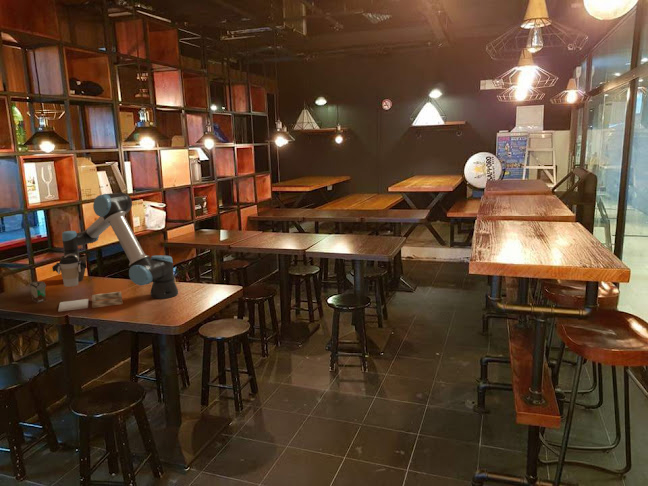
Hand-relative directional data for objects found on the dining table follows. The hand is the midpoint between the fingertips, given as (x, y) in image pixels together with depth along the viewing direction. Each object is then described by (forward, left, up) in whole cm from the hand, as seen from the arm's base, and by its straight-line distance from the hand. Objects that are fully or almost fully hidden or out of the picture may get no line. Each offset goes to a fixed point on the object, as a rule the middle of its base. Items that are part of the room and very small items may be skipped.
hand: (69, 270), depth 259 cm
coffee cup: (+3, -4, -9) cm, 10 cm away
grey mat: (+2, -4, -21) cm, 21 cm away
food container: (+27, -10, -21) cm, 36 cm away
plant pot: (+35, -50, -21) cm, 65 cm away
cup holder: (-12, -13, -21) cm, 27 cm away
